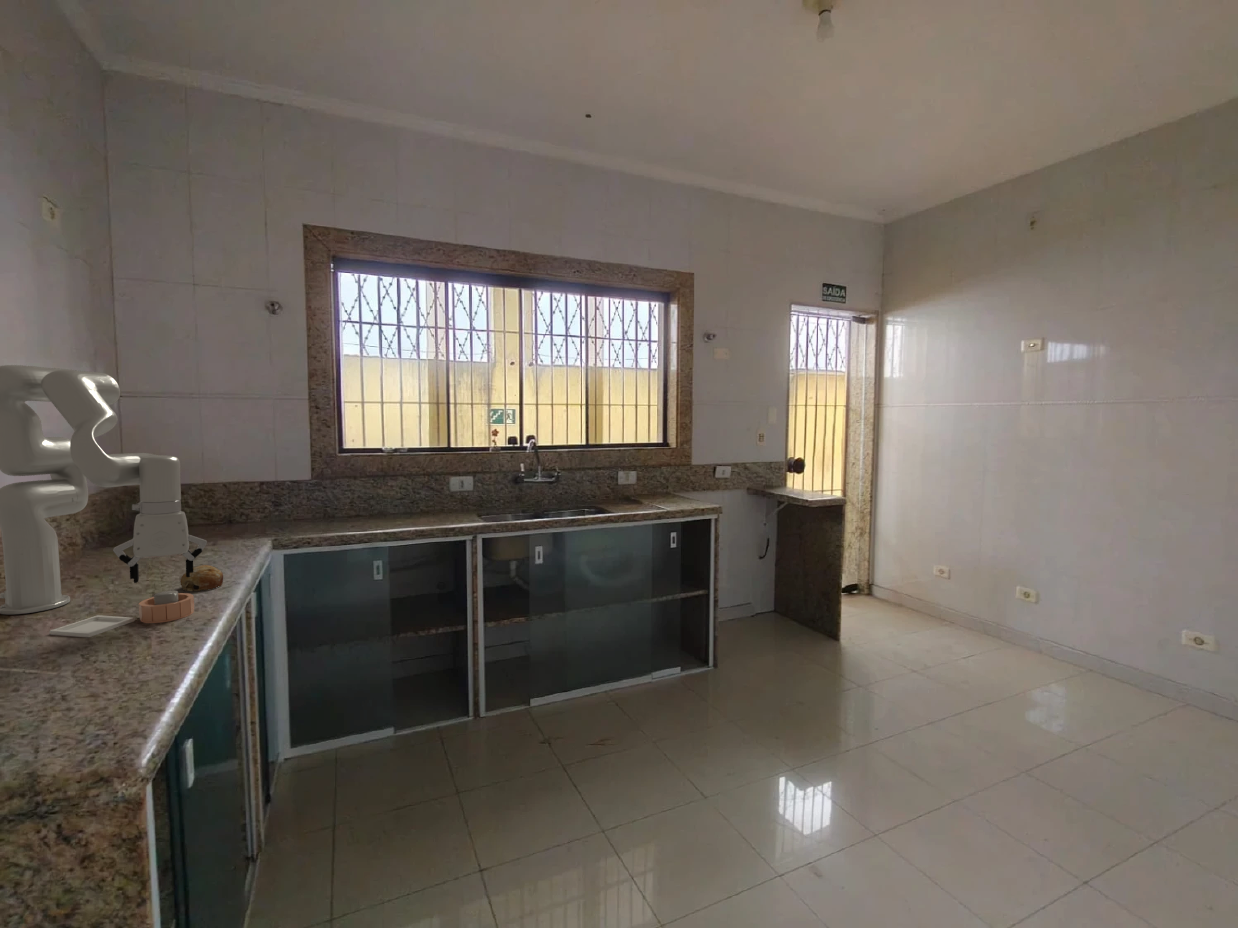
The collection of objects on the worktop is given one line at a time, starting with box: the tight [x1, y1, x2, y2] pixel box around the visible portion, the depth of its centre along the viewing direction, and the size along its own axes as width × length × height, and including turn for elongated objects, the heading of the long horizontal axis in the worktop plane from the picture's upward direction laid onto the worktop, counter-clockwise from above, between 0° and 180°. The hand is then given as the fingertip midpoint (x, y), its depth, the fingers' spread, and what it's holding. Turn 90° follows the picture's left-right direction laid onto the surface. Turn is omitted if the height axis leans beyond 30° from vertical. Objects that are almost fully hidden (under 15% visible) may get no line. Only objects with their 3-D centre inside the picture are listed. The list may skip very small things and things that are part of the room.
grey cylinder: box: [153, 590, 179, 605], centre depth 135 cm, size 4×4×5 cm
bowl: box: [138, 592, 195, 624], centre depth 136 cm, size 10×10×4 cm
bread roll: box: [180, 564, 224, 592], centre depth 160 cm, size 10×10×8 cm
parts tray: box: [49, 614, 136, 638], centre depth 128 cm, size 10×10×1 cm
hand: (162, 578), depth 135 cm, fingers open, 9 cm apart
